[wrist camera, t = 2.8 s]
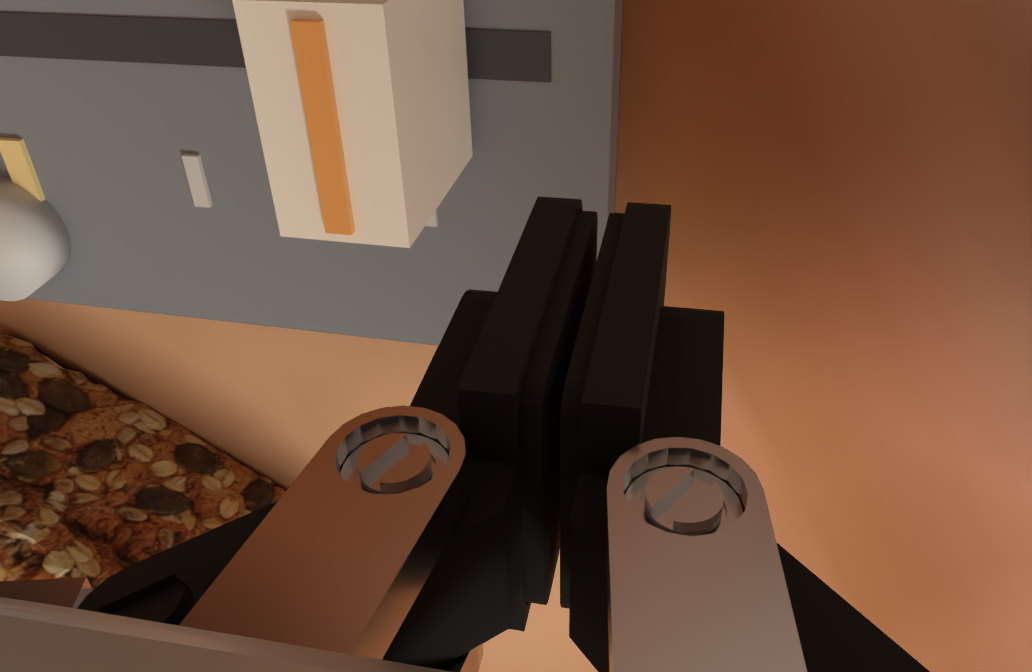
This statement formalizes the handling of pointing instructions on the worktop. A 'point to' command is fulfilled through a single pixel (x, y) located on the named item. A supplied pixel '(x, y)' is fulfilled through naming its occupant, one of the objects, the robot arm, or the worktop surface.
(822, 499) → the worktop surface
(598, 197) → the console
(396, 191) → the fader knob
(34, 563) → the bread
